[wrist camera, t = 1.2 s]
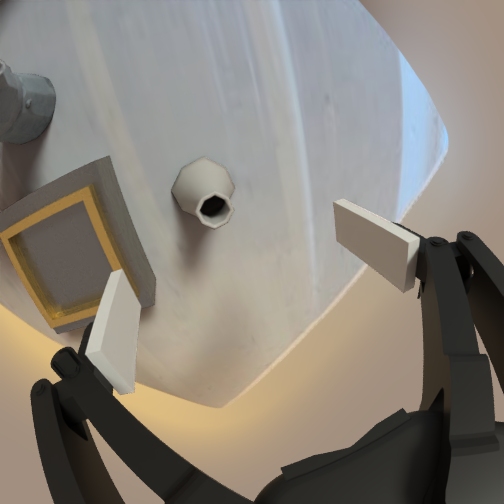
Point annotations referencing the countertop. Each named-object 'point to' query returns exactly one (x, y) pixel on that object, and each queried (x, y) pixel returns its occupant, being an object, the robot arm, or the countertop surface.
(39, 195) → the plate
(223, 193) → the flask
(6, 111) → the moka pot
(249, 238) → the countertop surface
